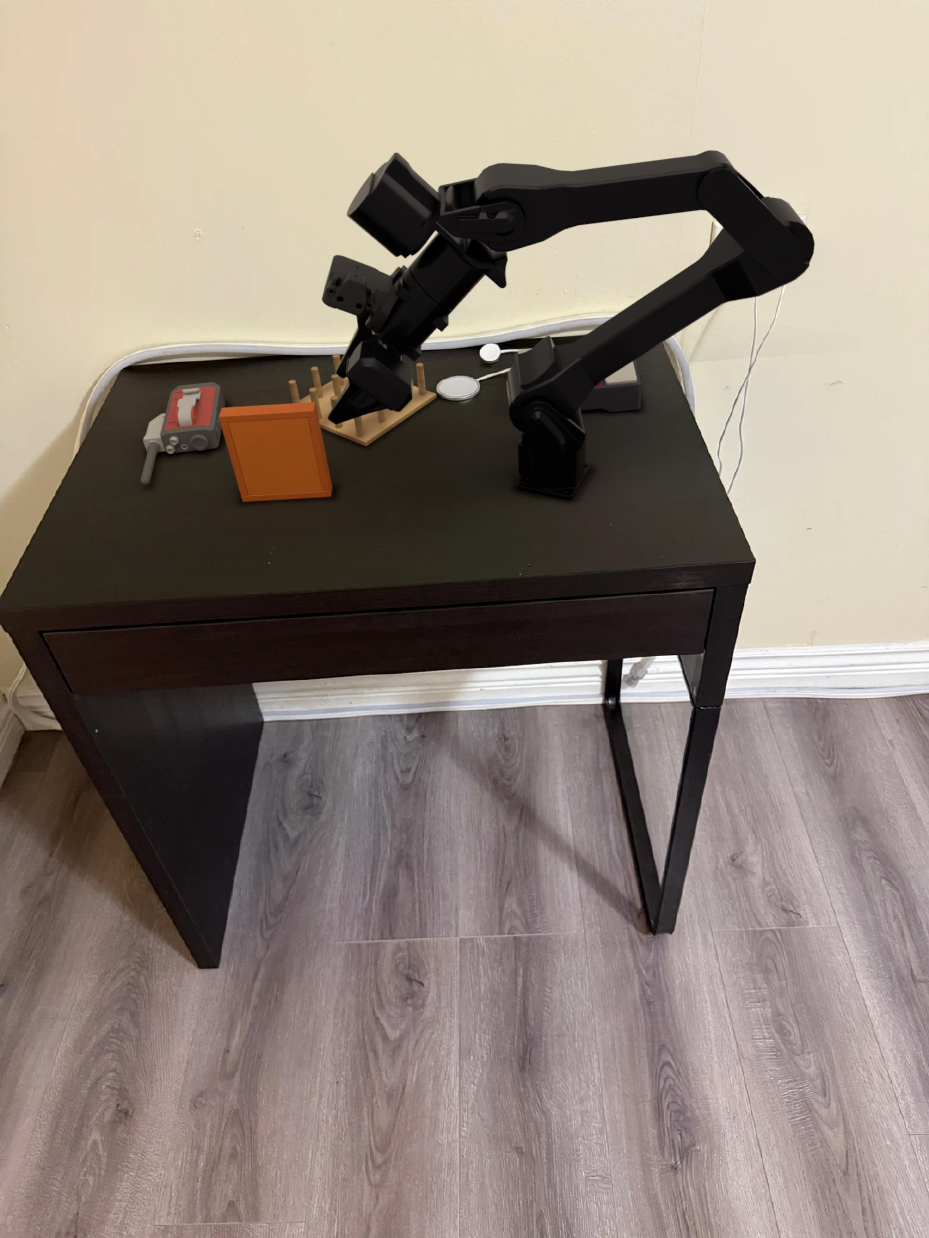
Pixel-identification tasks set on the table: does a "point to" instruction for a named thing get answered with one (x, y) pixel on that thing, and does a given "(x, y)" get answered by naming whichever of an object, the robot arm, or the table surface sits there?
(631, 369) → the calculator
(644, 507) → the table surface
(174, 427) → the walkie-talkie
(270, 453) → the lid
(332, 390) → the rack
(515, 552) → the table surface
